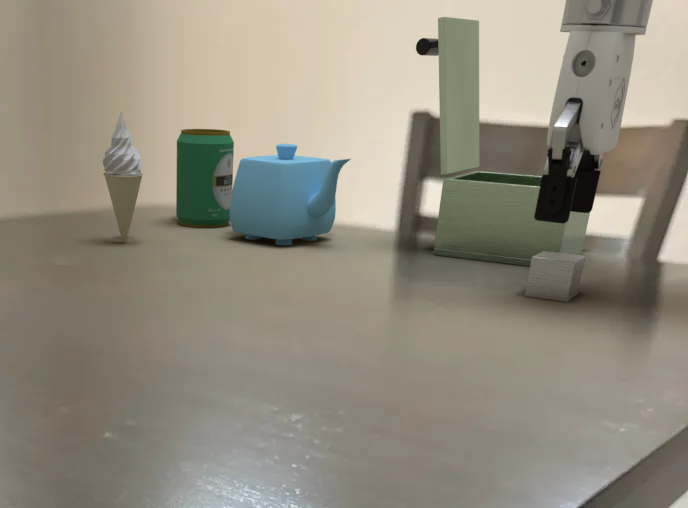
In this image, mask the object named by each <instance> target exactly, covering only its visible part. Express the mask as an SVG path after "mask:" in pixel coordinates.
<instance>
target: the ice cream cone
mask: <svg viewBox="0 0 688 508" xmlns="http://www.w3.org/2000/svg"><path fill="white" fill-rule="evenodd" d="M113 131H114V132H113V133H112V134H111V143H110V147H108V148H107V150H105V151H104V157H102V158H103V159H102V165H103V167H104V168H103V171H104V173H103V174H102V175H103V176H104V178H105V179H104V180H105V182H106V186H107V189H108V193H109V198H110V200H111V205H112V208H113V212H114V216H115V220H116V223H117V226H118V231H119V234H120V238H121V242H122V243H123V244H127V242H128V238H129V233H130V230H131V226H132V221H133V217H134V212H135V208H136V203H137V199H138V195H139V191H140V186H141V182H142V178H143V176H144V174H143V173H142V165H143V161H142V157H141V155H140V151H138V149H136V147H135V146H134V141H133V136H132V134H131V131H130V130H129V127H128V124H127V122H126V120H125V118H124V114H123V111H120V115H119V118H118V121H117V124H116V126H115V129H114V130H113Z"/></svg>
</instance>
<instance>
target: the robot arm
mask: <svg viewBox="0 0 688 508" xmlns="http://www.w3.org/2000/svg"><path fill="white" fill-rule="evenodd" d="M653 2H654V0H565V3H564V8H563V9H564V10H563V13H562V19H561V25H560V29H559V32H560V33H569V35H568V38H567V42H566V46H565V51H564V54H563V56H562V61H561V67H560V71H559V75H558V79H557V84H556V88H555V92H554V98H553V103H552V107H551V113H550V118H549V122H548V129H547V136H546V146H547V147H548V148H547V151H546V152H547V154H546V156H547V157H546V161H545V163H544V166H543V170H542V175H541V176H542V180H541V185H540V190H539V195H538V200H537V205H536V210H535V215H534V218H535V220H537V221H545V222H554V223H566V222H567V221H568V220H569V216H570V211H572V212H581V213H589V212H590V213H591V212H592V211H593V207H594V203H595V198H596V194H597V190H598V185H599V181H600V176H601V172H602V170H601V168H602V164H603V161H604V154H606V153H609V152H611V151H612V150H614V149H615V148H616V146H617V145H618V142H619V136H620V131H621V128H622V127H621V126H622V121H623V116H624V111H625V106H626V100H627V96H628V95H627V94H628V90H629V86H630V78H631V75H632V68H633V61H634V55H635V47H636V37H637V36H645V35H646V33H647V28H648V24H649V19H650V15H651V11H652V5H653Z"/></svg>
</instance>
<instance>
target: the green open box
mask: <svg viewBox="0 0 688 508" xmlns="http://www.w3.org/2000/svg"><path fill="white" fill-rule="evenodd" d="M541 180H542V175H531V174H521V173H520V174H519V173H508V172H496V171H483V170H475V171H470V172H466V173H462V174H461V173H460V174H458V175H453V176H450V177H446V178H443V180H442V186H441V193H440V194H441V195H440V202H439V209H438V215H437V223H436V230H435V238H434V245H433V252H432V253H433V254H432V255H434V256H441V257H448V258H449V257H450V258H458V259H467V260H473V261H475V260H476V261H483V262H491V263H498V264H499V263H500V264H506V265H513V266H514V265H515V266H523V267H524V266H525V267H530V264H531V258H532V257H533V256H535V255H537V254H539V253H541V252H542V251H549V252H557V253H566V254H575V255H582V253H583V247H584V243H585V239H586V234H587V229H588V223H589V219H590V215H591V212H589V213H581V212H572V211H570V216H569V220H568V221H567V222H566V223H554V222H545V221H537V220H535V218H534V215H535V210H536V205H537V200H538V195H539V190H540V185H541Z"/></svg>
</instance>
